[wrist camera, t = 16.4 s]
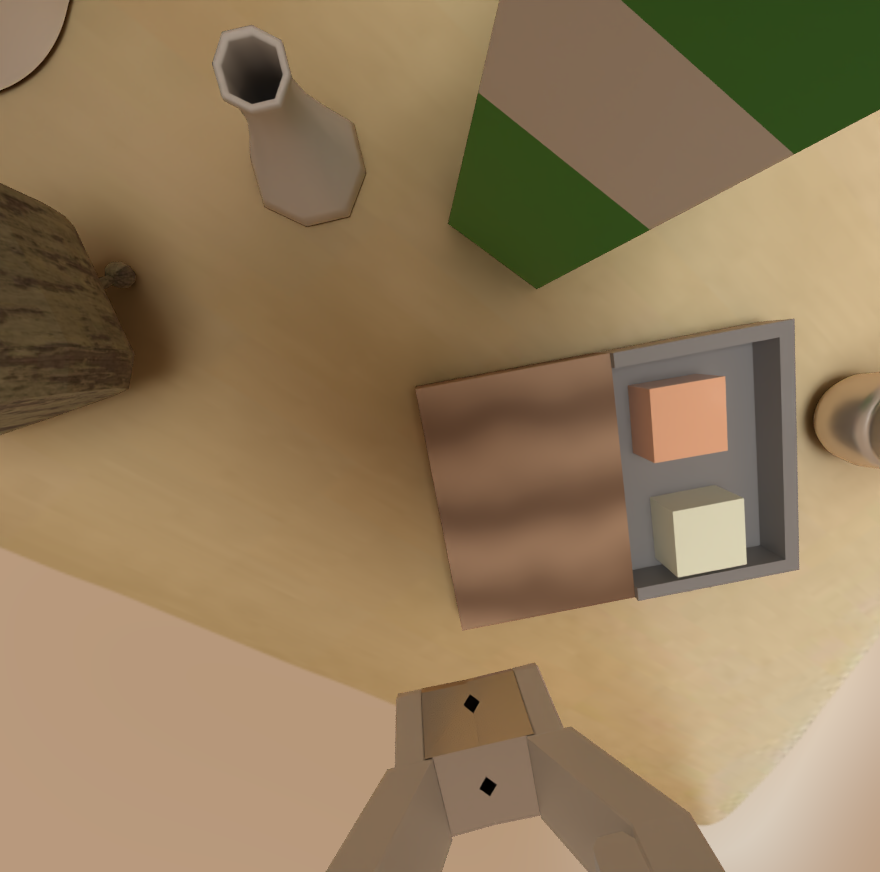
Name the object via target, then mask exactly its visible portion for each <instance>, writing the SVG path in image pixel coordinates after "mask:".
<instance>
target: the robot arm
mask: <svg viewBox="0 0 880 872" xmlns="http://www.w3.org/2000/svg"><path fill="white" fill-rule="evenodd" d="M68 3H69V0H0V90H2V89H4V88H7V87H9V86H11V85H13V84H15V83H17V82H18V81H20V80H21V79H23V78H24V77H26V76H27V75H28V74H30V73H31V72H32V71H33V70H34V69H35V68H36V67H37V66H38V65H39V64H40V63H41V62H42V61H43V60H44V58H45V57H46V56H47V54H48V53H49V52H50V50H51V48H52V47H53V45H54V43H55V41H56V39H57V37H58V35H59V33H60V30H61V28H62V25H63V22H64V19H65V15H66V11H67V7H68ZM540 815H541V818H542V820H543V821H544V822H545V823H546V824H547V825H548V826H549V827H550V829H551V830H552V831H553V832H554V833H555V834H556V836H557V837H558V838H559V839H560V840H561V841H562V842H563V844H564V845H565V846H566V847H567V848H568V849H569V850H570V852H571V853H572V854H573V855H574V856H575V857H576V858H577V859H578V861H579V862H580V863H581V864H582V865H583V866H584V868H585V869H586V870H587V871H588V872H725V871H724V869H723V867H722V866H721V864H720V862H719V861H718V859H717V857H716V856H715V854H714V852H713V851H712V849H711V848H710V846H709V844H708V843H707V841H706V839H705V837H704V836H703V834H702V833H701V831H700V829H699V828H698V826H697V824H696V823H695V821H694V819H693V818H692V816H691V814H690V813H689V812H688V811H686V810H685V809H684V808H682V807H681V806H679V805H678V804H677V803H675V802H674V801H673V800H671V799H670V798H668V797H667V796H666V795H664V794H663V793H662V792H660V791H659V790H657V789H656V788H655V787H653V786H652V785H651V784H649V783H648V782H646V781H645V780H644V779H642V778H641V777H640V776H638V775H637V774H635V773H634V772H633V771H631V770H630V769H629V768H627V767H626V766H624V765H623V764H622V763H620V762H619V761H618V760H616V759H615V758H613V757H612V756H611V755H609V754H608V753H607V752H605V751H604V750H602V749H601V748H600V747H598V746H597V745H596V744H594V743H593V742H591V741H590V740H589V739H587V738H586V737H585V736H583V735H582V734H580V733H579V732H578V731H576V730H575V729H574V728H572V727H567V728H563V726H562V723H561V721H560V718H559V716H558V713H557V711H556V709H555V706H554V704H553V701H552V699H551V697H550V694H549V692H548V689H547V687H546V685H545V682H544V680H543V677H542V675H541V673H540V670H539V668H538V666H537V665H536V664H535V663H531V664H527V665H523V666H519V667H515V668H512V669H508V670H504V671H500V672H495V673H491V674H487V675H483V676H479V677H474V678H470V679H467V680H462V681H457V682H451V683H446V684H441V685H436V686H431V687H426V688H422V689H420V690H414V691H409V692H404V693H399V694H398V696H397V699H396V741H395V768H391V769H387V771H386V773H385V774H384V776H383V778H382V779H381V781H380V783H379V784H378V786H377V788H376V789H375V791H374V793H373V794H372V796H371V798H370V799H369V801H368V803H367V804H366V806H365V808H364V809H363V811H362V813H361V814H360V816H359V818H358V819H357V821H356V823H355V824H354V826H353V828H352V829H351V831H350V832H349V834H348V836H347V837H346V839H345V841H344V843H343V844H342V846H341V847H340V849H339V851H338V852H337V854H336V856H335V857H334V859H333V861H332V863H331V864H330V866H329V867H328V869H327V871H326V872H442V870H443V867H444V863H445V860H446V858H447V854H448V852H449V848H450V845H451V842H452V838H451V837H453V836H456V835H460V834H464V833H467V832H471V831H474V830H478V829H482V828H485V827H489V826H492V825H496V824H501V823H506V822H510V821H516V820H520V819H525V818H530V817H535V816H540Z"/></svg>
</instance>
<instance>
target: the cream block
mask: <svg viewBox="0 0 880 872" xmlns="http://www.w3.org/2000/svg"><path fill="white" fill-rule="evenodd" d="M650 505H651V516H652V527H653V538H654V549H655V558H656V559H657V560H658V561H659V562H661V563H662V564H663V565H664V566H665V567H666V568H667V569H669V570H670V571H671V572H672V573H673V574H674V575H675V576H677V577H683V576H689V575H694V574H699V573H704V572H709V571H715V570H720V569H725V568H730V567H735V566H740V565H746V564H747V557H746V534H745V511H744V498H742V497H740V496H738V495H736V494H734V493H731V492H729V491H727V490H725V489H723V488H720V487H718V486H716V485H712V486H707V487H701V488H696V489H691V490H686V491H680V492H675V493H670V494H665V495H659V496H654V497H650Z"/></svg>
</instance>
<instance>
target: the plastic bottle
mask: <svg viewBox="0 0 880 872" xmlns="http://www.w3.org/2000/svg"><path fill="white" fill-rule="evenodd" d="M813 422H814V429H815V433H816V435H817V437H818V439H819V440H820V442H821V443H822V445H823V446H824V447H825V448H826V450H827V451H828V452H830V453H831V454H833V455H835V456H837V457H839V458H841V459H843V460H845V461H848V462H850V463H852V464H855V465H858V466H865V467H872V468H879V469H880V372H873V373H864V374H856V375H853V376H849V377H847V378H845V379H843V380H841V381H840V382H838V383H836V384H835V385H833V386H832V387H831V388H829V389H828V390H827V391H826V392H825V393H824V394H823V396H822V397H821V399H820V400H819V402H818V404H817V406H816V409H815V413H814V420H813Z"/></svg>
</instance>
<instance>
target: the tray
mask: <svg viewBox="0 0 880 872" xmlns="http://www.w3.org/2000/svg"><path fill="white" fill-rule="evenodd" d="M596 353H610V357H611V367H612V377H613V386H614V396H615V406H616V415H617V425H618V435H619V444H620V454H621V464H622V474H623V483H624V493H625V503H626V512H627V522H628V532H629V541H630V551H631V561H632V571H633V580H634V590H635V597H636V598H637V600H638V601H640V600H645V599H651V598H656V597H661V596H666V595H671V594H676V593H681V592H687V591H692V590H697V589H702V588H707V587H712V586H717V585H722V584H728V583H733V582H738V581H743V580H748V579H753V578H758V577H764V576H769V575H774V574H779V573H784V572H789V571H794V570H799V531H798V479H797V428H796V376H795V325H794V319H787V320H775V321H763V322H756V323H750V324H745V325H740V326H734V327H729V328H724V329H718V330H713V331H708V332H702V333H697V334H692V335H686V336H681V337H676V338H671V339H665V340H660V341H655V342H649V343H644V344H639V345H633V346H628V347H623V348H617V349H612V350H607V351H601V352H596ZM692 374H705V375H717V376H725V382H726V411H727V440H728V451H722V452H716V453H711V454H705V455H699V456H693V457H688V458H682V459H676V460H670V461H665V462H659V463H653V462H651V461H649V460H647V459H645V458H643V457H641V456H638V455H636V454H634V453H633V447H632V434H631V421H630V409H629V396H628V385H634V384H640V383H645V382H651V381H657V380H663V379H669V378H675V377H681V376H686V375H692ZM712 485H716V486H718V487H720V488H723V489H725V490H727V491H729V492H731V493H734V494H736V495H738V496H740V497H742V498H744V511H745V534H746V557H747V564H746V565H740V566H735V567H730V568H725V569H720V570H715V571H709V572H704V573H699V574H694V575H689V576H683V577H677V576H675V575H674V574H673V573H672V572H671V571H670V570H669V569H667V568H666V567H665V566H664V565H663V564H662V563H661V562H659V561H658V560H657V559H656V558H655V549H654V538H653V527H652V516H651V505H650V497H654V496H659V495H665V494H670V493H675V492H680V491H686V490H691V489H696V488H701V487H707V486H712Z"/></svg>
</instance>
